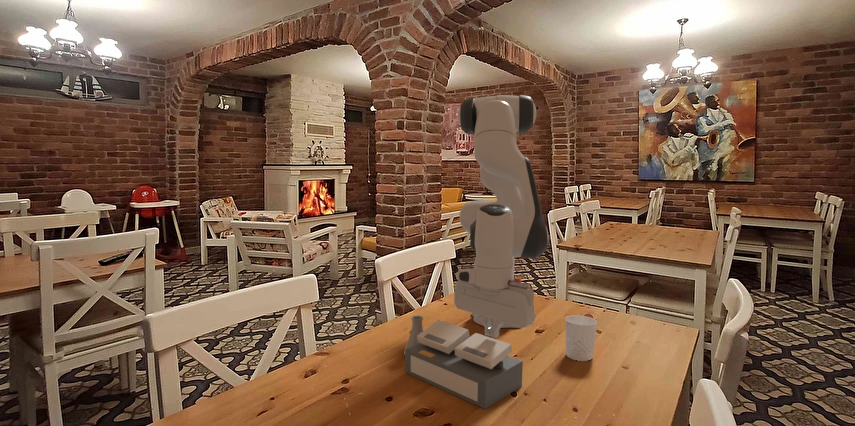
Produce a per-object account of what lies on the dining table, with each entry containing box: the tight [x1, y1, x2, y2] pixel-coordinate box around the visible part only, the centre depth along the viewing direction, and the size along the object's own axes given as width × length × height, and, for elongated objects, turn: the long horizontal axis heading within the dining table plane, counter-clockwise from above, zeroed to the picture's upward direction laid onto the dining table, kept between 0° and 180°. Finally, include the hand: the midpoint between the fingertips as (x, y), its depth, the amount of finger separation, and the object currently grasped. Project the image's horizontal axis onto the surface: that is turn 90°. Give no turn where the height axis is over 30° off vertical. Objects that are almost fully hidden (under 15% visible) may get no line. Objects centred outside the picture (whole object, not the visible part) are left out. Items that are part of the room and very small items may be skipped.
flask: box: [403, 315, 424, 357], centre depth 123 cm, size 7×7×10 cm
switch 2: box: [454, 332, 513, 369], centre depth 104 cm, size 8×10×2 cm
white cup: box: [564, 314, 598, 362], centre depth 122 cm, size 8×8×10 cm
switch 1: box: [417, 319, 471, 354], centre depth 112 cm, size 8×10×2 cm
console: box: [405, 341, 524, 410], centre depth 108 cm, size 14×24×8 cm, turn 46°
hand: (491, 335), depth 106 cm, fingers closed
